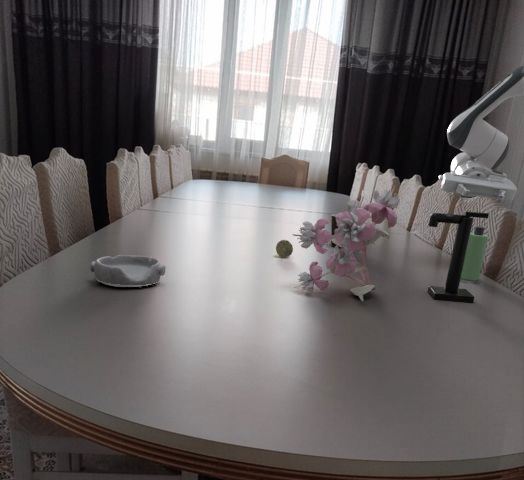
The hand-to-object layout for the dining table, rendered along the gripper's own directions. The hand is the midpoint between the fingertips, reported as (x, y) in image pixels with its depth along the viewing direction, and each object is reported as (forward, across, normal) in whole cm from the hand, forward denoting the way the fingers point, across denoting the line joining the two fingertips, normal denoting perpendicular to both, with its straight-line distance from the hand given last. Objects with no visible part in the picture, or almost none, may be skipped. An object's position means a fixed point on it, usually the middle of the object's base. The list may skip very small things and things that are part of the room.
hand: (483, 196), depth 140 cm
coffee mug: (-21, -32, +30) cm, 48 cm away
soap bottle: (+10, 0, +20) cm, 22 cm away
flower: (+40, -38, +15) cm, 57 cm away
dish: (+46, -84, +16) cm, 97 cm away
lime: (+5, -51, +25) cm, 57 cm away
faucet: (+33, -12, +15) cm, 38 cm away
